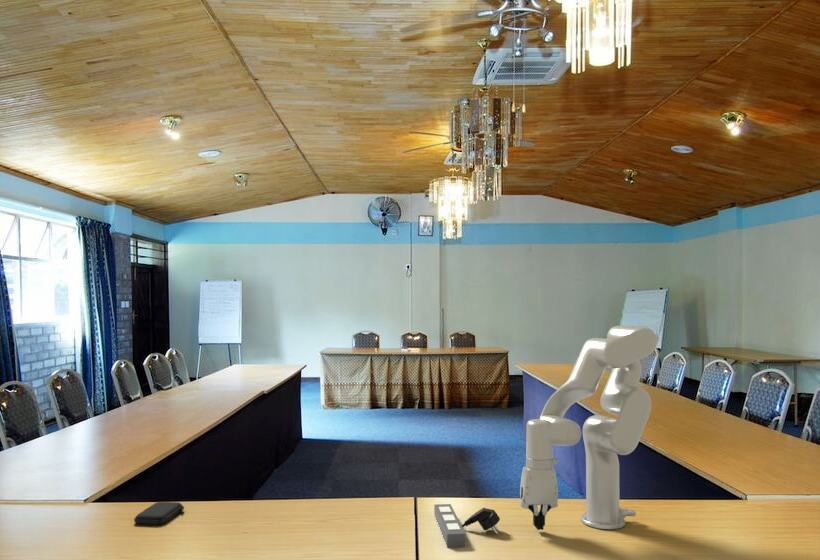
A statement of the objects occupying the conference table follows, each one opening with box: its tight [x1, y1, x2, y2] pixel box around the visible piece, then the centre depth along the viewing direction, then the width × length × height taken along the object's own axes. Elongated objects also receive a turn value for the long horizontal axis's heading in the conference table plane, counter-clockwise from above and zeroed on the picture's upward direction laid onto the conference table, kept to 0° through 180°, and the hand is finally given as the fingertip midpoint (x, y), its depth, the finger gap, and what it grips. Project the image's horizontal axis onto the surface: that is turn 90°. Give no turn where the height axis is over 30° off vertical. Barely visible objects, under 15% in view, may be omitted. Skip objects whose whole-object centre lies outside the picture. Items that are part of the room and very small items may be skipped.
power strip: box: [433, 503, 467, 548], centre depth 178 cm, size 5×24×4 cm, turn 6°
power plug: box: [461, 507, 501, 535], centre depth 177 cm, size 6×8×12 cm
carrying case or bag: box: [133, 501, 185, 526], centre depth 188 cm, size 11×3×15 cm
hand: (539, 528), depth 176 cm, fingers closed
